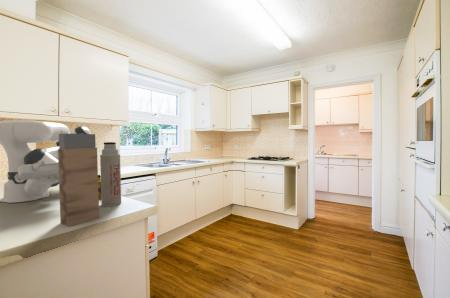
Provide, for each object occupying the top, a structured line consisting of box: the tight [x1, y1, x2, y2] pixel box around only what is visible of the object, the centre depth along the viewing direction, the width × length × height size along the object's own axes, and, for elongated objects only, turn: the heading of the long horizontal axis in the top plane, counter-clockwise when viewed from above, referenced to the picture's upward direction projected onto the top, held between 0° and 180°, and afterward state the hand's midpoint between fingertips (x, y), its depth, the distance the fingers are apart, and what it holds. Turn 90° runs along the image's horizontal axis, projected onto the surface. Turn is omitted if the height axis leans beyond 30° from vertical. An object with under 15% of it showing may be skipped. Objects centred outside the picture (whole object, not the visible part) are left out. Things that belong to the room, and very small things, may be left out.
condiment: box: [98, 174, 101, 201], centre depth 107 cm, size 7×8×12 cm
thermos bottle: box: [99, 141, 122, 207], centre depth 100 cm, size 8×8×28 cm
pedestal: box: [57, 147, 100, 227], centre depth 79 cm, size 6×10×26 cm, turn 147°
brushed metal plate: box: [59, 133, 97, 149], centre depth 81 cm, size 13×10×5 cm
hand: (56, 160), depth 89 cm, fingers open, 8 cm apart
